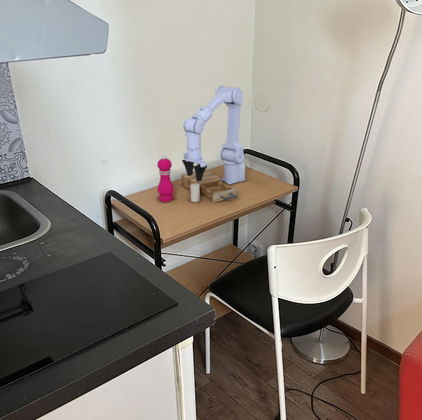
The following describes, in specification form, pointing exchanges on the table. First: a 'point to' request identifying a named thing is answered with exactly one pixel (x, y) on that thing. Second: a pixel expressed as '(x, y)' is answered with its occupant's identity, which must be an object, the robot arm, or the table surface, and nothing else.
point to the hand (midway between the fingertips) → (194, 178)
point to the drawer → (218, 191)
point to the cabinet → (206, 179)
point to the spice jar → (195, 192)
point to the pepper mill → (165, 180)
